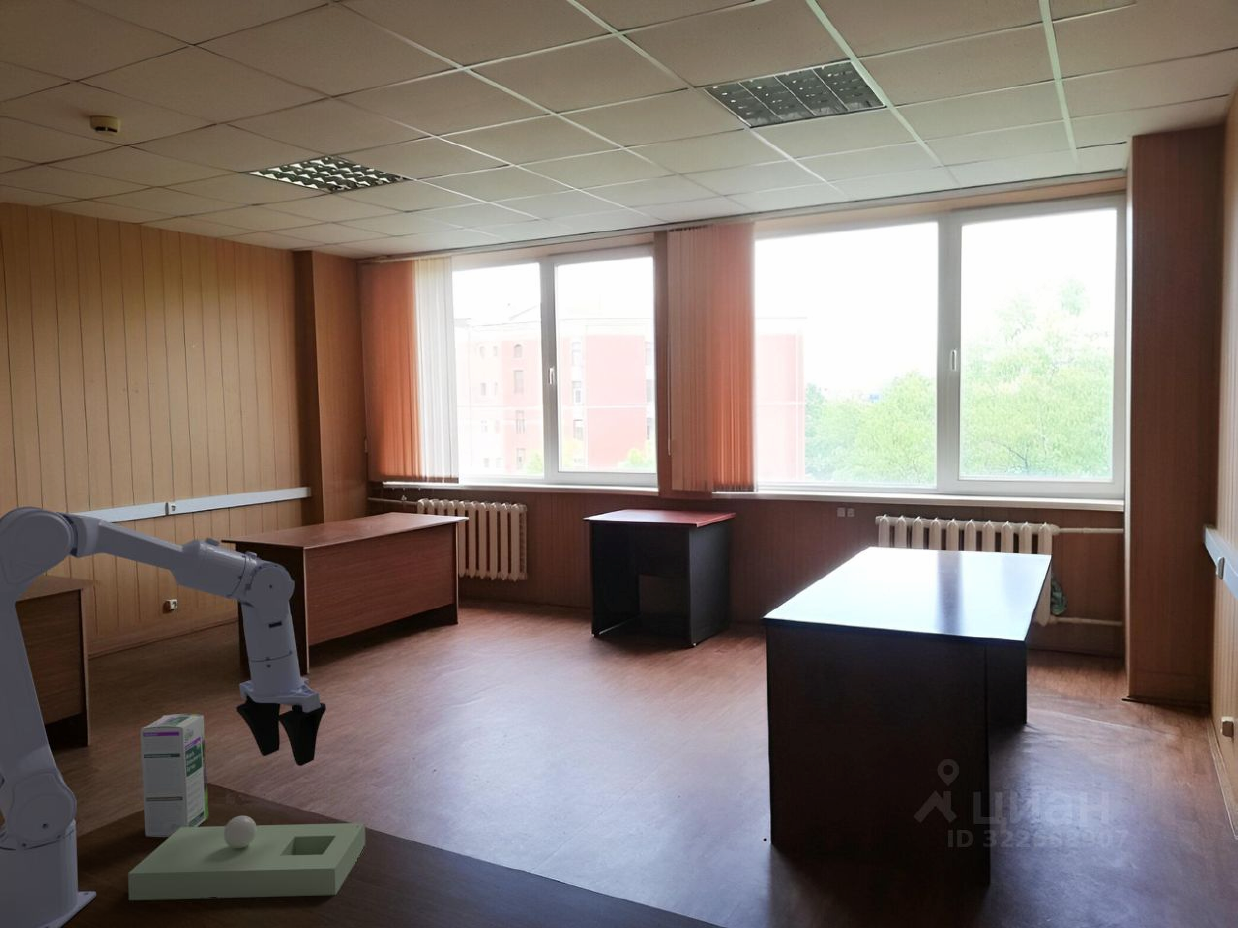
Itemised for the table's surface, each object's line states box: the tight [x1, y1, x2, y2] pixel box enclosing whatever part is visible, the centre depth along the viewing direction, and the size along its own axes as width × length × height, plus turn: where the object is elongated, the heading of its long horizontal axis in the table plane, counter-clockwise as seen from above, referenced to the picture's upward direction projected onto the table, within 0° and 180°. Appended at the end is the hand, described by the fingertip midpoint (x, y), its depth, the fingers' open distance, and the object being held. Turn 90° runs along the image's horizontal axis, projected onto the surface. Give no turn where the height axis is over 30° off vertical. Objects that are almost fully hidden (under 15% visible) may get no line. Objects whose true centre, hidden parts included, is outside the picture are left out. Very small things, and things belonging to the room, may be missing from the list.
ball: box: [224, 815, 257, 849], centre depth 104 cm, size 4×4×4 cm
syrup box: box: [139, 713, 209, 838], centre depth 117 cm, size 6×6×14 cm
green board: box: [127, 822, 366, 901], centre depth 104 cm, size 23×12×3 cm, turn 91°
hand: (287, 757), depth 113 cm, fingers open, 7 cm apart
